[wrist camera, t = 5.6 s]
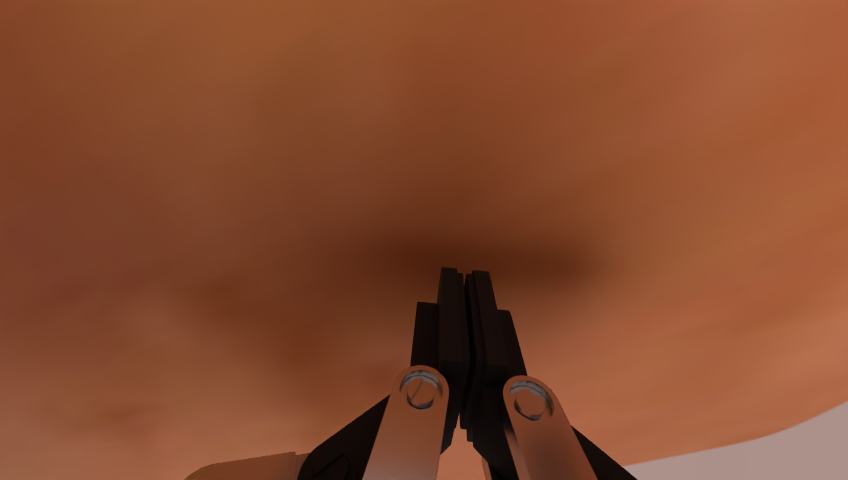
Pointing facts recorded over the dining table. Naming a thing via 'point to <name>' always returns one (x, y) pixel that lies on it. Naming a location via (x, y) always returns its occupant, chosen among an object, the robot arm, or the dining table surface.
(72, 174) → the dining table surface
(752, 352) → the dining table surface
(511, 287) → the dining table surface
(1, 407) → the dining table surface
